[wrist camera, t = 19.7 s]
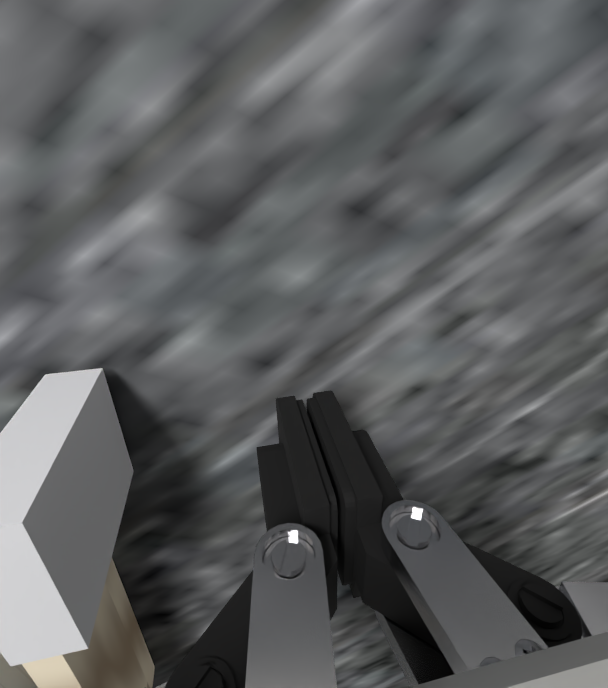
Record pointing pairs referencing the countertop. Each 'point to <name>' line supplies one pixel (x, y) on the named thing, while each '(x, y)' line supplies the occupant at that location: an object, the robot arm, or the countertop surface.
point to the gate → (58, 514)
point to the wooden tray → (102, 649)
